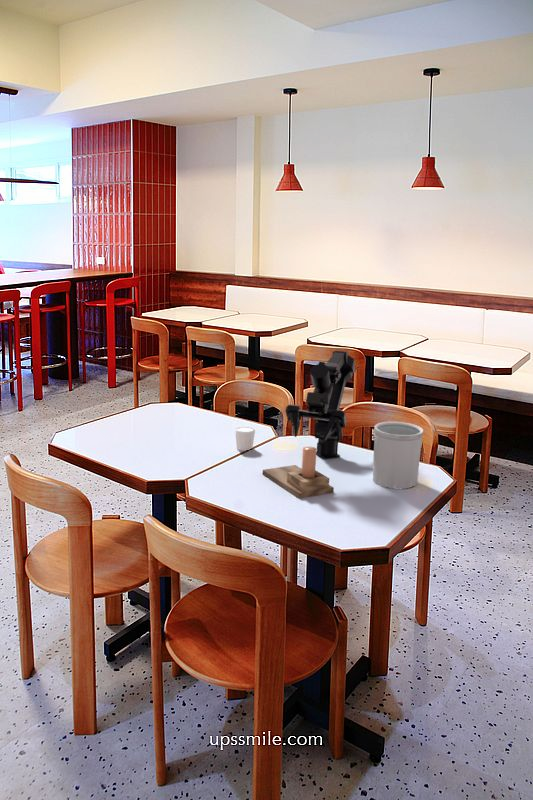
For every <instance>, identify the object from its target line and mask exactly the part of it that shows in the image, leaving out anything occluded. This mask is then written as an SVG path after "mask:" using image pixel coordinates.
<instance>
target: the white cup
mask: <svg viewBox="0 0 533 800" xmlns="http://www.w3.org/2000/svg"><path fill="white" fill-rule="evenodd" d="M255 434H256V429H255V428H254V427H253V428H252V427H249V426H244V427H243V426H242V427H241V426H240V427H237V428H235V444H236V450H238V451H242V452H246V450H249V449H251V448H253V449H254V447H253V446H254V439H255ZM249 451H250V450H249Z"/></svg>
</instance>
